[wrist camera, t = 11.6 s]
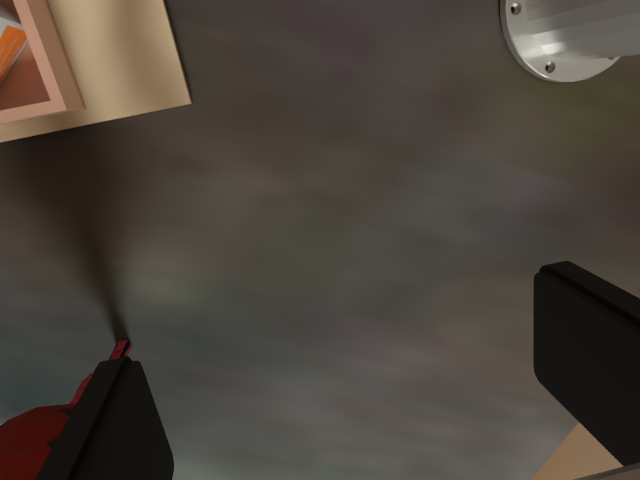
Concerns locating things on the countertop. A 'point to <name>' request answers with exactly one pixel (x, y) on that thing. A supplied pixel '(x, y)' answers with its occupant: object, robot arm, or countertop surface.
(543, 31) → the robot arm
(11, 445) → the lantern
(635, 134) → the countertop surface
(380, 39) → the countertop surface
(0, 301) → the countertop surface
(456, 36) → the countertop surface
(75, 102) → the pink square tray
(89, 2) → the board
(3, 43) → the skincare box
